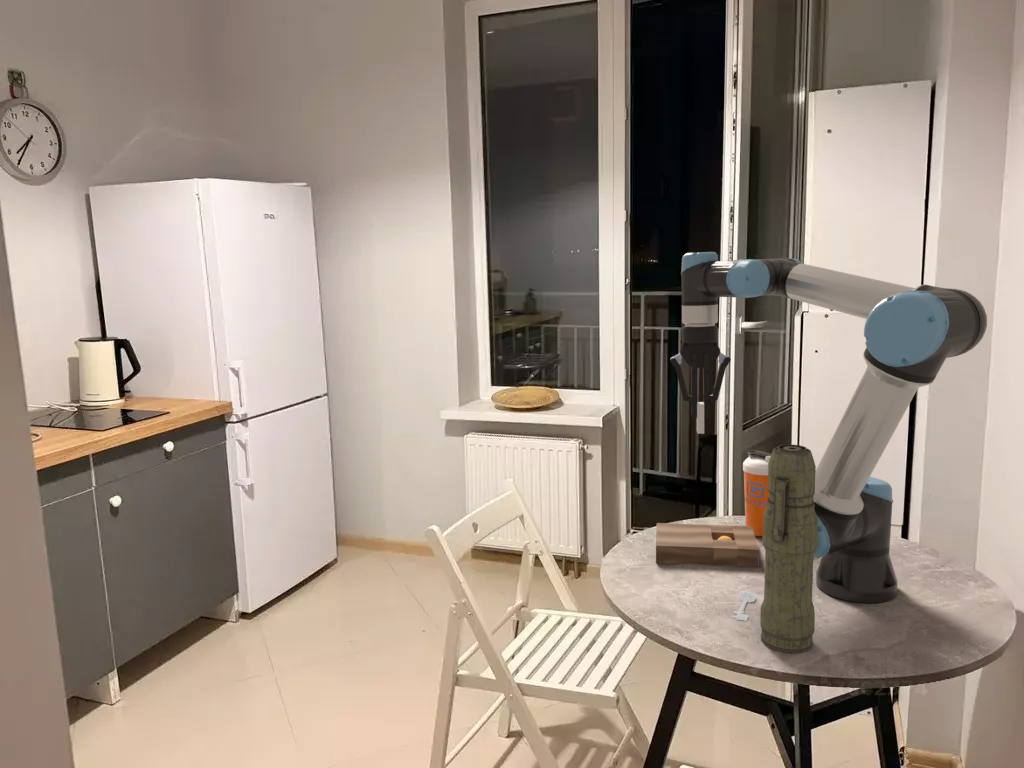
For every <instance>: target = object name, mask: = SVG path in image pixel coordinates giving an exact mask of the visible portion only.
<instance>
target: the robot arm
mask: <svg viewBox="0 0 1024 768" xmlns="http://www.w3.org/2000/svg"><path fill="white" fill-rule="evenodd" d="M718 257H719V256H718V254H717V252H715V251H706V252H705V251H702V252H687V253H685V254H684V255H682V258H681V267H680V268H681V272H680V275H681V276H680V277H681V280H680V281H681V323H682V324H684V325H683V326H682V328H681V348H680V350H679V353H678V354H675V355H674V356H672V357H670V363H671V365H672V366H673V368H674V369H675V372H676V375H677V380H678V384H679V387H680V393H681V395H682V399H683V401H684V402H688V403H690V405H691V406H690V407H691V409H690V410H691V418H692V419H696V434H698V435H699V434H701V435H704V434H705V419H708V418H709V417H710V404H711V403H712V402H717V401H718V400H719V396H720V394H721V393H720V392H721V389H722V385H723V380H724V376H725V371H726V368H727V367H728V365H729V364H730V362H731V357H730V356H728V355H725V354H724V353H723V352H721V348H720V346H719V331H718V330H719V326H717V325H716V324H717V323H718V322H719V312H718V311H719V310H718V309H719V304H718V303H719V302H718V300H719V298H740V299H749V298H757V297H759V296H778V297H781V298H787V299H790V300H795V301H797V302H798V301H799V302H802V303H805V304H809V305H813V306H817V307H822V308H825V309H828V310H832V311H836V312H839V313H844V314H846V315H847V314H848V315H850V316H854V317H857V318H861V319H865V323H864V327H863V337H864V338H865V346H866V347H865V350H864V351H863V353H862V357H863V359H864V361H865V364H866V365H867V367H866V369H865V371H864V373H863V375H862V377H861V379H860V381H859V383H858V386H857V388H856V390H855V391H854V393H853V395H852V397H851V399H850V401H849V403H848V405H847V407H846V410H845V411H844V414H843V415H842V417H841V418H840V422H839V423H838V425H837V428H836V429H835V431H834V433H833V435H832V437H831V439H830V441H829V443H828V445H827V447H826V449H825V451H824V453H823V455H822V457H821V458H820V461H819V463H818V465H817V467H816V473H815V494H814V495H813V500H814V509H815V513H816V516H817V519H818V527H817V548H816V550H815V552H814V555H813V560H815V559H820V561H819V562H820V563H819V564H818V567H817V569H816V574H815V585H816V586H817V587H818V589H819V590H821V591H822V592H823V593H826V594H827V595H829V596H832V597H834V598H838V599H841V600H845V601H850V602H855V603H865V604H870V603H871V604H873V603H874V604H876V603H885V602H888V601H891V600H893V599H894V598H896V597H897V594H898V588H899V587H898V578H897V575H896V573H895V570H894V566H893V563H892V559H891V556H890V549H891V548H890V546H891V533H892V532H891V531H892V530H891V529H892V517H893V516H892V514H893V513H892V512H893V503H894V500H893V488H892V486H891V484H890V483H888V482H887V481H886V480H883V479H880V478H878V477H877V478H876V477H873V476H871V475H872V473H873V472H874V470H875V468H876V466H877V464H878V462H879V461H880V459H881V457H882V455H883V453H884V452H885V449H886V448H887V446H888V444H889V442H890V441H891V439H892V437H893V435H894V433H895V431H896V430H897V428H898V426H899V424H900V422H901V420H902V418H903V417H904V415H905V413H906V411H907V409H908V407H909V406H910V404H911V402H912V401H913V398H914V396H915V394H916V393H917V391H918V390H919V388H922V387H925V386H928V385H931V384H932V383H934V380H935V379H936V377H937V375H938V374H939V372H940V370H941V368H942V367H943V365H944V363H945V361H946V359H949V358H954V357H958V356H961V355H964V354H966V353H968V352H969V351H971V350H973V349H974V348H975V347H976V346H977V345H979V343H980V342H982V339H983V338H984V335H985V333H986V331H987V326H988V316H987V312H986V309H985V307H984V305H983V304H982V302H981V301H980V299H978V298H977V296H974V295H973V294H971V293H970V292H968V291H966V290H963V289H958V288H946V287H940V286H934V285H929V284H921V285H919V286H917V287H911V286H907V285H901V284H897V283H892V282H888V281H883V280H880V279H874V278H869V277H867V276H866V277H865V276H861V275H856V274H851V273H846V272H843V271H838V270H833V269H829V268H826V267H819V266H815V265H811V264H806V263H803V262H801V260H799V259H797V258H790V257H780V258H763V259H759V258H757V259H753V258H752V259H751V258H747V259H746V258H743V259H733V260H722V261H721V260H719V259H718ZM717 358H718V363H719V366H718V369H717V373H716V377H715V382H714V385H713V389H712V392H710V390H711V389H710V373H711V372H710V367H711V366H713V364H714V363H715V361H716V360H717ZM682 359H683V360H684V361H685V362H686V364H687V365H688V367H690V394H689V393H688V389H687V385H686V382H685V378H684V373H683V371H682V366H681V365H682ZM700 368H701V369H702V387H703V388H702V395H703V396H702V397H703V399H702V400H703V401H698V369H700ZM710 393H711V394H710Z"/></svg>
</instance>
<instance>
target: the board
mask: <svg viewBox="0 0 1024 768" xmlns="http://www.w3.org/2000/svg"><path fill="white" fill-rule="evenodd" d="M655 535H656V536H655V563H657V564H659V563H660V564H676V565H677V564H679V565H680V564H681V565H682V564H684V565H698V566H699V565H703V566H704V565H705V566H722V567H723V566H725V567H743V568H744V567H747V568H759V564H760V563H759V562H760V561H759V560H760V558H759V557H760V549H759V545H758V543H757V542H758V541H757V540H756V536H754V533H753V529H752V526H745V525H724V524H721V525H719V524H693V523H668V522H656V532H655ZM721 536H728V537H730V538H731V539H732V540H733V541H731V540H718V538H720V537H721Z"/></svg>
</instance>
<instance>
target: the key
mask: <svg viewBox="0 0 1024 768" xmlns="http://www.w3.org/2000/svg"><path fill="white" fill-rule="evenodd" d="M738 599H739V600H740V601H741V602H742V604H741V606H740V608H739V609H738V610H734V611H733V614H734V615H731V618H732V619H733V618H734V619H736V621H738V620H740V621H744V622H747V621H748V620H749V619H748V618H749V615H748V614H745V611H744V610H745V607H746V605H747V603H754V602H755V600H756V595H755V594H754V593H752V592H748V591H743V592H740V593H739V596H738ZM735 614H736V615H735Z"/></svg>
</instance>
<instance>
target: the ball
mask: <svg viewBox="0 0 1024 768" xmlns="http://www.w3.org/2000/svg"><path fill="white" fill-rule="evenodd" d="M718 540H731V541H733V540H732V539H731V538H730V537H728V536H721V537H720V538H718Z"/></svg>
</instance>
